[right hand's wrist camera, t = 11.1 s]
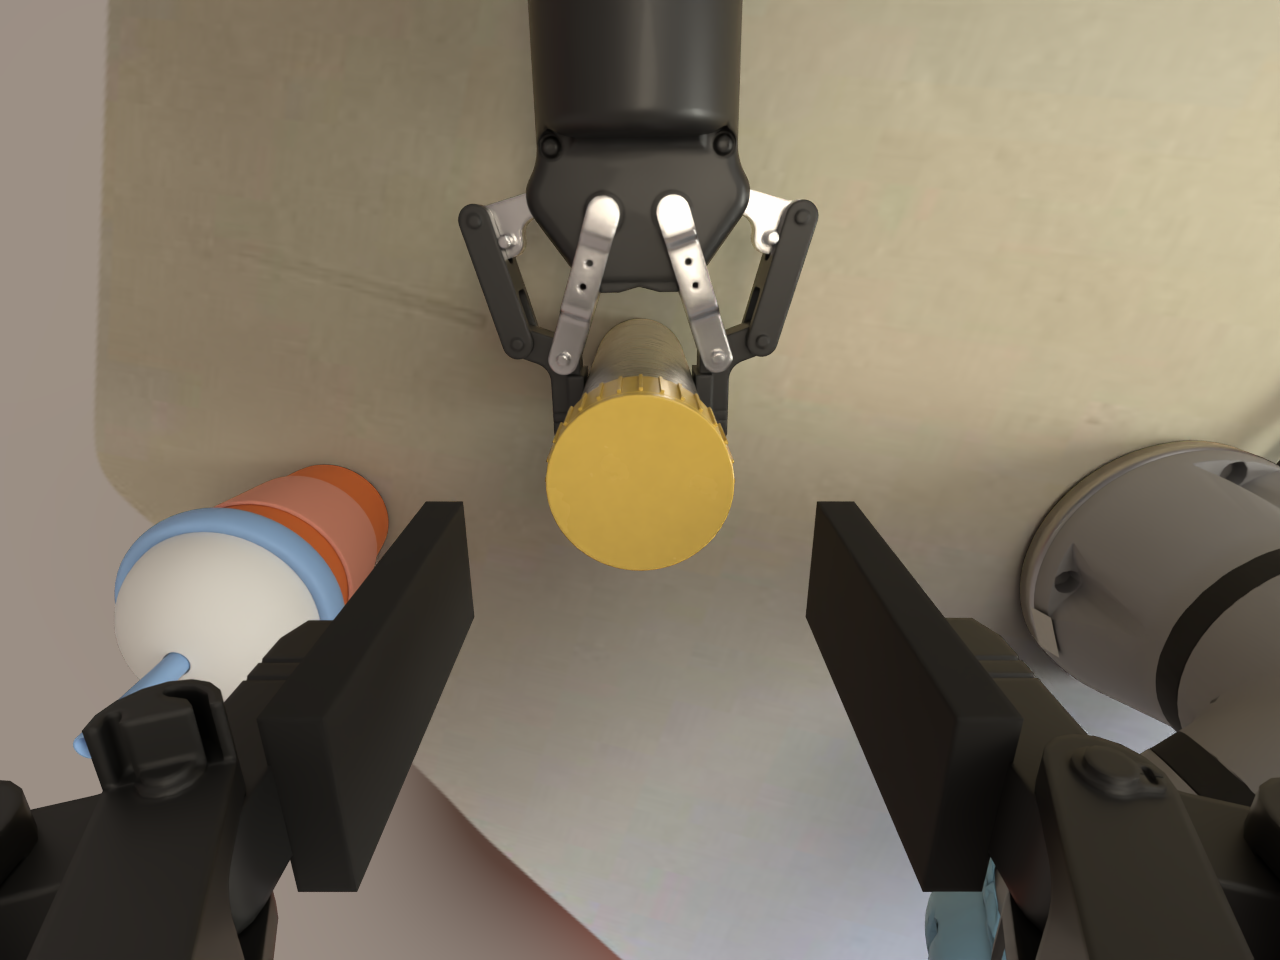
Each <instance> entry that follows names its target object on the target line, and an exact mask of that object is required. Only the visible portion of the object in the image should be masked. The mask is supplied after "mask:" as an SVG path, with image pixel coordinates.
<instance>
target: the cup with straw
mask: <svg viewBox="0 0 1280 960" xmlns="http://www.w3.org/2000/svg"><path fill="white" fill-rule="evenodd" d="M387 532H388V514H387V510H386V506H385V504H384V502H383V500H382V498H381V496H380V495H379V493H378V492H377V490H376V489H375V488H374V487H373V486H372V485H371V484H370V483H369V482H368V481H367V480H366V479H364V478H363V477H362V476H360V475H358V474H357V473H355V472H353V471H351V470H348V469H346V468H343V467H339V466H334V465H314V466H310V467H306V468H303V469H301V470H298V471H296V472H294V473H292V474H290V475H288V476H286V477H279V478H276V479H272V480H270V481H267V482H265V483H263V484H261V485H259V486H256V487H254V488H252V489H250V490H248V491H246V492H244V493H242V494H240V495H238V496H236V497H233V498H231V499H229V500H227V501H225V502H223V503H221V504H219V505H217V506H215V507H213V508H202V509H195V510H190V511H186V512H182V513H179V514H176V515H173V516H171V517H169V518H167V519H165V520H163V521H161V522H159V523H157V524H156V525H154V526H153V527H151V528H150V529H148V530H147V531H146V532H145V533H144V534H142V535H141V536H140V537H139V538H138V539H137V540H136V541H135V543H134V544H133V545H132V546H131V547H130V549H129V550H128V552H127V553H126V555H125V557H124V559H123V560H122V562H121V565H120V567H119V570H118V573H117V578H116V582H115V612H114V629H115V635H116V640H117V644H118V647H119V649H120V652H121V654H122V656H123V658H124V660H125V662H126V663H127V665H128V666H129V668H130V669H131V671H132V672H133V673H134V674H135V675H136V676H137V678H138V679H139V681H138V682H137V683H136V684H135V685H134V686H133V687H132V688H131V689H129V690H128V691H127V692H126V693H125V694H124V695H123V696H122V697H121V698H123V697H125V696H127V695H130V694H132V693H134V692H136V691H138V690H141V689H143V688H147V687H150V686H154V685H157V684H161V683H164V682H168V681H177V680H187V679H195V680H201V681H208V682H211V683H212V684H214V685H215V686H216V687H218V688H219V689H220V690H221V693H222V697H223V701H224V702H225V700H226V699H227V698H228V697H229V696H230V695H231V694H232V692H233V691H234V690H235V689H236V688H237V687H238V686H239V684H240V683H241V682H242V681H243V680H247V675H248V674H249V673H250V672H251V671H252V670H253V668H254V667H255V666H256V665H257V664H258V663H262V658H263V657H264V656H265V655H266V654H267V653H268V651H269V650H270V649H271V648H272V647H273V646H274V645H275V643H276V642H277V641H278V640H279V639H280V638H281V637H283V636H284V635H286V634H287V633H289V632H290V631H292V630H294V629H295V628H297V627H298V626H300V625H302V624H303V623H305V622H306V621H308V620H334V619H335V617H336V616H337V615H338V613H339V612H340V611H341V610H342V608H343V607H344V606H345V605H346V603H347V602H348V601H349V599H350V598H351V597H352V596H353V594H354V593H355V592H356V590H357V589H358V588H359V587H360V585H361V584H362V583H363V582H364V580H365V579H366V578H367V576H368V575H369V574H370V573H371V571H372V570H373V568H374V565H375V562H376V557H377V555H378V553H379V551H380V549H381V548H382V546H383V544H384V542H385V539H386V536H387ZM121 698H120V699H121ZM118 700H119V699H118ZM73 747H74V749H75V750H76V752H77V753H78V754H80V755H81V756H83V757H86V758H91V756H90V753H89V750H88V747H87V745H86V742H85V739H84V736H83V733H81V734H80V735H79V736H77V737H76V738H75V740H74V743H73Z"/></svg>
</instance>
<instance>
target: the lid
mask: <svg viewBox="0 0 1280 960" xmlns="http://www.w3.org/2000/svg"><path fill="white" fill-rule="evenodd" d="M727 444H728V441H727V439H726V436H725V434H724V431H723V429H722V426H721V424H720V423H719V424H717V422H716V419H715V416H714V414H713V411H712V409H711V408H710V407H708V408H707V407H706V406H705V405H704V403H703V402H702V401H701V400H700V399H699V396H698V394H697V393H695V394H693V393H691V392H690V391H688V390H687V389H685V388H684V387H682V384H681V383H678V384H675V383H673V382H671V381H668V380H664V379H663V377H661V376H659V378H656V377H650V376H643V374H639V376H632V377H624V378H623V377H622V376H619V378H618V379H615V380H613V381H610V382H607V383H603V382H602V383H600V384H599V387H597V388H595V389H593V390H592V391H590V392H589V393H588V394H587V393H586V392H585V393H584V394H583V395H582V398H581V400H580V401H579V402H577V403H576V405H575V406H574V407H572V406H571V407H570V408H569V410H568V413H567V415H566V418H565V420H564V423H562V422H561V423H560V425H559V427H558V430H557V432H556V435H555V437H554V439H553V445H552V448H551V450H550V452H549V455H548V457H547V461H546V462H548V466H547V474H546V478H545V482H546V492H547V498H548V503H549V506H550V509H551V512H552V515H553V517H554V519H555V521H556V523H557V525H558V526H559V528H560V529H561V531H562V532H563V534H564V535H565V536H566V537H567V538H568V540H569V541H570V542H571V543H572V544H573V545H575V546H576V547H577V548H578V549H579V550H580V551H582V552H583V553H585V554H586V555H587V556H589V557H591V558H593V559H595V560H596V561H598V562H601V563H603V564H606V565H608V566H612V567H616V568H619V569H626V570H639V571H644V570H655V569H660V568H665V567H668V566H671V565H674V564H677V563H679V562H681V561H684V560H686V559H688V558H689V557H691V556H693V555H694V554H696V553H697V552H699V551H700V550H701V549H702V548H703V547H705V546H706V545H707V544H708V543H709V542H710V541H711V540H712V539H713V538H714V537H715V535H716V534H717V532H718V531H719V530H720V528H721V527H722V525H723V523H724V521H725V519H726V518H727V515H728V513H729V510H730V507H731V503H732V499H733V494H734V483H735V478H734V471H733V466H732V463H734V460H733V457H732V455H731V452H730V450H729V447H728V445H727Z"/></svg>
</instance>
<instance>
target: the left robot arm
mask: <svg viewBox="0 0 1280 960" xmlns="http://www.w3.org/2000/svg"><path fill="white" fill-rule="evenodd" d="M528 10H529V26H530V43H531V60H532V76H533V92H534V109H535V125H536V142H537V157H536V163H535V167H534V170H533V173H532V175H531V177H530V179H529V182H528V184H527V188H526V193H524V194H521V195H518V196H515V197H512V198H509V199H505V200H502V201H499V202H496V203H493V204H490V205H487V206H485V205H478V204H469V205H467V206H465V207H464V208H463V209H462V210H461V211H460V213H459V217H458V222H459V226H460V229H461V232H462V235H463V237H464V240H465V243H466V246H467V249H468V251H469V254H470V257H471V260H472V263H473V265H474V268H475V271H476V274H477V276H478V279H479V282H480V285H481V288H482V290H483V293H484V296H485V299H486V302H487V304H488V307H489V310H490V313H491V316H492V318H493V321H494V324H495V327H496V330H497V332H498V335H499V338H500V341H501V343H502V346H503V349H504V351H505V353H506V354H507V355H508V356H510V357H511V358H514V359H525V360H528V361H531V362H534V363H537V364H539V365H541V366H543V367H544V368H545V369H546V370H547V371H548V373H549V375H550V377H551V384H552V401H553V418H554V434H555V435H556V432H557V430H558V427H559V425H560V423H561V422H562V423H564V420H565V418H566V415H567V413H568V410H569V408H570V407H571V406H572V407H574V406H575V405H576V403H577V402H579V401H580V399H581V396H582V393H583V390H584V388H585V385H586V382H587V379H588V366H583V360H582V354H583V351H584V347H585V344H586V340H587V337H588V333H589V330H590V326H591V323H592V319H593V316H594V313H595V310H596V307H597V303H598V300H599V296H600V293H618V292H622V291H626V290H629V289H633V288H636V287H643V288H647V289H650V290H654V291H658V292H679V295H680V298H681V301H682V304H683V307H684V310H685V313H686V316H687V319H688V322H689V325H690V328H691V331H692V335H693V338H694V341H695V344H696V347H697V365H692V378H693V381H694V384H695V387H696V390H697V393H698V396H699V399H700V400H701V401H702V402H703V403H704V405H705V406H706V407H707V408H708V407H710V408H711V409H712V411H713V414H714V416H715V419H716V422H717V424H719V423H720V424H721V426H722V429H723V431H724V434H725V436H726V435H727V417H728V384H729V375H730V372H731V370H732V368H733V367H734V366H735V365H736V364H738V363H739V362H741V361H744V360H747V359H749V358H752V357H755V356H760V357H763V356H767V355H769V354H771V353H772V352H773V351H774V350H775V348H776V346H777V344H778V340H779V337H780V334H781V331H782V328H783V325H784V322H785V319H786V316H787V313H788V310H789V307H790V304H791V301H792V298H793V295H794V291H795V288H796V285H797V282H798V279H799V276H800V273H801V270H802V267H803V264H804V261H805V258H806V255H807V252H808V249H809V245H810V242H811V239H812V236H813V233H814V230H815V227H816V224H817V221H818V210H817V208H816V206H815V205H814V204H813V203H812V202H811V201H808V200H800V199H799V200H792V201H789V200H786V199H782V198H779V197H775V196H772V195H768V194H765V193H761V192H758V191H754V190H751V189H750V186H749V182H748V179H747V177H746V175H745V173H744V171H743V169H742V166H741V163H740V159H739V154H738V121H739V90H740V59H741V26H742V0H528ZM742 216H744V217H746V218H747V219H748V220H749V222H750V224H751V227H752V233H751V243H752V245H753V247H754V248H755V249H756V250H757V251H758V252H761V253H763V255H762V258H761V261H760V264H759V268H758V271H757V274H756V278H755V281H754V284H753V287H752V291H751V294H750V297H749V301H748V304H747V307H746V310H745V314H744V317H743V320H742V323H741V324H739V325H737V326H734V327H731V328H729V329H726V330H725V329H724V326H723V322H722V319H721V316H720V312H719V306H718V303H717V299H716V296H715V293H714V289H713V286H712V283H711V279H710V276H709V273H708V269H707V265H708V264H709V262H710V261H711V259H712V258H713V256H714V255H715V254H716V252H717V251H718V249H719V248H720V246H721V245H722V244H723V242H724V241H725V239H726V238H727V237H728V235H729V234H730V232H731V231H732V229H733V228H734V227H735V225H736V224H737V222H738V221H739V220H740V218H741V217H742ZM533 219H535V220H536V222H537V223H538V224H539V226H540V227H541V228H542V230H543V231H544V232H545V234H546V235H547V236H548V238H549V239H550V240H551V242H552V243H553V244H554V246H555V247H556V248H557V250H558V251H559V252H560V254H561V255H562V256H563V258H564V259H565V260H566V262H567V263H568V264H569V266H570V267H571V271H570V275H569V279H568V283H567V286H566V290H565V294H564V297H563V301H562V305H561V309H560V316H559V320H558V323H557V327H556V331H555V332H552V331H549V330H547V329H544V328H541V327H539V326H538V323H537V320H536V317H535V315H534V312H533V309H532V306H531V303H530V300H529V297H528V294H527V291H526V288H525V285H524V282H523V279H522V276H521V273H520V270H519V267H518V264H517V261H516V258H515V257H517V256H519V255H521V254H522V253H523V252H524V250H525V248H526V244H527V240H526V228H527V225H528V224H529V222H530V221H532V220H533Z"/></svg>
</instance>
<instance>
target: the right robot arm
mask: <svg viewBox="0 0 1280 960" xmlns="http://www.w3.org/2000/svg"><path fill="white" fill-rule="evenodd" d="M1020 602H1021V608H1022V612H1023V616H1024V619H1025V622H1026V625H1027V627H1028V629H1029V631H1030V633H1031V634H1032V636H1033V637H1034V639H1035V640H1036V642H1037V643H1038V644H1039V646H1041V648H1042V649H1043V650H1044V651H1045V652H1046V653H1047V654H1048V655H1049V656H1050V657H1051V658H1052V659H1053V660H1054V661H1055V662H1056V663H1057V664H1058V665H1059V666H1060V667H1061V668H1062V669H1063V670H1064V671H1066V672H1067V673H1069V674H1070V675H1072V676H1073V677H1074V678H1076V679H1077V680H1079V681H1080V682H1082V683H1083V684H1085V685H1087V686H1089V687H1091V688H1092V689H1094V690H1096V691H1099V692H1101V693H1103V694H1105V695H1107V696H1109V697H1111V698H1113V699H1115V700H1117V701H1119V702H1121V703H1123V704H1125V705H1128V706H1130V707H1132V708H1134V709H1136V710H1138V711H1140V712H1142V713H1144V714H1146V715H1148V716H1150V717H1152V718H1155V719H1157V720H1159V721H1161V722H1163V723H1165V724H1167V725H1169V726H1171V727H1172V728H1173V729H1174V730H1175V731H1176V733H1175V734H1173V735H1172V736H1170V737H1168V738H1167V739H1165V740H1163V741H1162V742H1160V743H1159V744H1157V745H1155V746H1154V747H1152V748H1150V749H1147V750H1146V751H1144V752H1142V753H1141V754H1138V753H1136V752H1135V751H1133V750H1131V749H1129V748H1127V747H1125V746H1123V745H1121V744H1118V743H1115V742H1112V741H1109V740H1106V739H1103V738H1100V737H1096V736H1089V735H1087V733H1086V732H1085V731H1084V730H1083V729H1082V728H1081V727H1080V725H1079V724H1078V723H1077V722H1076V721H1075V720H1074V719H1073V718H1072V716H1071V715H1070V714H1069V713H1068V712H1067V711H1066V710H1065V709H1064V707H1063V706H1062V705H1061V704H1060V703H1059V702H1058V701H1057V699H1056V698H1055V697H1054V696H1053V695H1052V694H1051V693H1050V692H1049V690H1048V689H1047V688H1046V687H1045V686H1044V685H1043V684H1042V682H1041V681H1040V680H1039V679H1038V678H1034V673H1033V672H1032V671H1031V670H1030V669H1029V668H1028V667H1027V665H1026V664H1025V663H1024V662H1023V661H1022V660H1019V659H1018V655H1017V654H1016V653H1015V652H1014V651H1013V650H1012V649H1011V647H1010V646H1009V645H1008V644H1007V643H1006V642H1005V641H1004V639H1003V638H1002V637H1001V636H1000V635H998V634H997V633H995V632H993V631H992V630H990V629H989V628H987V627H986V626H984V625H982V624H981V623H979V622H978V621H976V620H974V619H973V618H945V617H944V616H943V615H942V613H941V612H940V611H939V610H938V608H937V607H936V606H935V605H934V603H933V602H932V601H931V599H930V598H929V597H928V596H927V594H926V593H925V592H924V590H923V589H922V588H921V587H920V585H919V584H918V583H917V582H916V580H915V579H914V578H913V576H912V575H911V574H910V573H909V571H908V570H907V569H906V567H905V566H904V565H903V564H902V562H901V561H900V560H899V558H898V557H897V556H896V555H895V553H894V552H893V551H892V550H891V548H890V547H889V546H888V544H887V543H886V542H885V541H884V539H883V538H882V537H881V535H880V534H879V533H878V532H877V530H876V529H875V528H874V527H873V525H872V524H871V523H870V521H869V520H868V519H867V518H866V516H865V515H864V514H863V512H862V511H861V510H860V509H859V507H858V506H857V505H856V503H855V502H817V507H816V518H815V528H814V538H813V548H812V558H811V568H810V579H809V589H808V599H807V609H806V619H807V621H808V623H809V626H810V628H811V630H812V633H813V635H814V637H815V640H816V642H817V644H818V647H819V649H820V651H821V654H822V656H823V659H824V661H825V663H826V666H827V668H828V670H829V673H830V675H831V677H832V680H833V682H834V684H835V687H836V689H837V691H838V694H839V696H840V698H841V701H842V703H843V705H844V708H845V710H846V712H847V715H848V717H849V720H850V722H851V724H852V727H853V729H854V731H855V734H856V736H857V738H858V741H859V743H860V745H861V748H862V750H863V752H864V755H865V757H866V759H867V762H868V764H869V766H870V769H871V771H872V773H873V776H874V778H875V781H876V783H877V785H878V788H879V790H880V792H881V795H882V797H883V799H884V802H885V804H886V806H887V809H888V811H889V813H890V816H891V818H892V820H893V823H894V825H895V827H896V830H897V832H898V835H899V837H900V839H901V842H902V844H903V846H904V849H905V851H906V853H907V856H908V858H909V860H910V863H911V865H912V867H913V870H914V872H915V874H916V877H917V879H918V881H919V884H920V886H921V888H922V891H923V892H932V893H931V895H930V898H929V901H928V905H927V909H926V915H925V936H926V944H927V949H928V955H929V956H928V960H1280V461H1279V462H1278V463H1277V464H1275V463H1273V462H1271V461H1269V460H1267V459H1265V458H1262V457H1260V456H1257V455H1254V454H1252V453H1249V452H1246V451H1243V450H1241V449H1238V448H1235V447H1232V446H1229V445H1225V444H1220V443H1215V442H1207V441H1178V442H1170V443H1164V444H1159V445H1155V446H1151V447H1147V448H1143V449H1140V450H1137V451H1135V452H1132V453H1129V454H1127V455H1125V456H1122V457H1120V458H1118V459H1116V460H1114V461H1112V462H1110V463H1108V464H1106V465H1104V466H1103V467H1101V468H1099V469H1098V470H1096V471H1095V472H1093V473H1091V474H1090V475H1089V476H1087V477H1086V478H1085V479H1083V480H1082V481H1081V482H1079V483H1078V484H1077V485H1076V486H1075V487H1073V488H1072V489H1071V490H1070V491H1069V492H1068V493H1067V494H1066V495H1065V496H1064V497H1063V498H1062V499H1061V500H1060V501H1059V502H1058V503H1057V504H1056V505H1055V506H1054V508H1053V509H1052V510H1051V511H1050V512H1049V514H1048V515H1047V516H1046V518H1045V519H1044V521H1043V522H1042V524H1041V525H1040V527H1039V528H1038V530H1037V532H1036V534H1035V535H1034V537H1033V539H1032V542H1031V544H1030V546H1029V548H1028V551H1027V554H1026V556H1025V559H1024V563H1023V567H1022V571H1021V579H1020ZM473 619H474V609H473V599H472V589H471V579H470V568H469V558H468V548H467V538H466V528H465V518H464V507H463V502H425V503H424V505H423V506H422V507H421V509H420V510H419V511H418V512H417V514H416V515H415V516H414V518H413V519H412V520H411V521H410V523H409V524H408V525H407V527H406V528H405V529H404V530H403V532H402V533H401V534H400V535H399V537H398V538H397V539H396V541H395V542H394V543H393V544H392V546H391V547H390V548H389V550H388V551H387V552H386V553H385V555H384V556H383V557H382V558H381V560H380V561H379V562H378V564H377V565H376V566H375V567H374V569H373V570H372V571H371V573H370V574H369V575H368V576H367V578H366V579H365V580H364V582H363V583H362V584H361V585H360V587H359V588H358V589H357V590H356V592H355V593H354V594H353V596H352V597H351V598H350V599H349V601H348V602H347V603H346V605H345V606H344V607H343V608H342V610H341V611H340V612H339V613H338V615H337V616H336V617H335V619H334V620H308V621H306V622H305V623H303V624H302V625H300V626H298V627H297V628H295V629H294V630H292V631H290V632H289V633H287V634H286V635H284V636H283V637H281V638H280V639H279V640H278V641H277V642H276V643H275V645H274V646H273V647H272V648H271V649H270V650H269V651H268V653H267V654H266V655H265V656H264V657H263V658H262V663H258V664H257V665H256V666H255V667H254V668H253V670H252V671H251V672H250V673H249V674H248V675H247V680H243V681H242V682H241V683H240V684H239V686H238V687H237V688H236V689H235V690H234V691H233V692H232V694H231V695H230V696H229V697H228V698H227V699H226V700H225V702H224V701H223V697H222V693H221V690H220V689H219V688H218V687H216V686H215V685H214V684H212V683H211V682H208V681H201V680H195V679H187V680H177V681H168V682H164V683H161V684H157V685H154V686H150V687H147V688H143V689H141V690H138V691H136V692H134V693H132V694H130V695H127V696H125V697H123V698H121V699H119V700H117V701H115V702H114V703H112V704H111V705H109V706H108V707H107V708H105V709H104V710H102V711H101V712H99V713H98V714H96V715H95V716H94V717H93V719H92V720H91V721H90V722H89V723H88V724H87V726H86V727H85V728H84V729H83V730H82V733H83V736H84V739H85V742H86V745H87V747H88V750H89V753H90V756H91V759H92V761H93V764H94V767H95V770H96V772H97V776H98V778H99V781H100V784H101V787H102V789H103V792H102V793H101V794H98V795H95V796H90V797H86V798H81V799H77V800H72V801H68V802H63V803H59V804H55V805H50V806H45V807H41V808H37V809H32V810H30V808H29V805H28V803H27V800H26V798H25V795H24V793H23V790H22V789H21V788H20V787H19V786H17V785H16V784H14V783H12V782H11V781H2V780H0V960H273V958H274V950H275V941H276V932H277V924H278V913H277V906H276V901H275V897H274V893H273V889H274V887H275V886H276V884H277V882H278V880H279V878H280V877H281V875H282V873H283V871H284V870H285V868H286V866H287V864H288V862H289V861H291V864H292V869H293V873H294V877H295V881H296V885H297V889H298V892H357V891H358V888H359V886H360V884H361V881H362V879H363V877H364V874H365V872H366V870H367V867H368V865H369V863H370V860H371V858H372V856H373V853H374V851H375V849H376V846H377V844H378V842H379V839H380V837H381V835H382V832H383V830H384V827H385V825H386V823H387V820H388V818H389V816H390V813H391V811H392V809H393V806H394V804H395V802H396V799H397V797H398V795H399V792H400V790H401V788H402V785H403V783H404V781H405V778H406V776H407V773H408V771H409V769H410V766H411V764H412V762H413V759H414V757H415V755H416V752H417V750H418V748H419V745H420V743H421V741H422V738H423V736H424V734H425V731H426V729H427V727H428V724H429V722H430V720H431V717H432V715H433V712H434V710H435V708H436V705H437V703H438V701H439V698H440V696H441V694H442V691H443V689H444V687H445V684H446V682H447V680H448V677H449V675H450V673H451V670H452V668H453V666H454V663H455V661H456V659H457V656H458V654H459V651H460V649H461V647H462V644H463V642H464V640H465V637H466V635H467V633H468V630H469V628H470V626H471V623H472V621H473Z"/></svg>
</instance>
